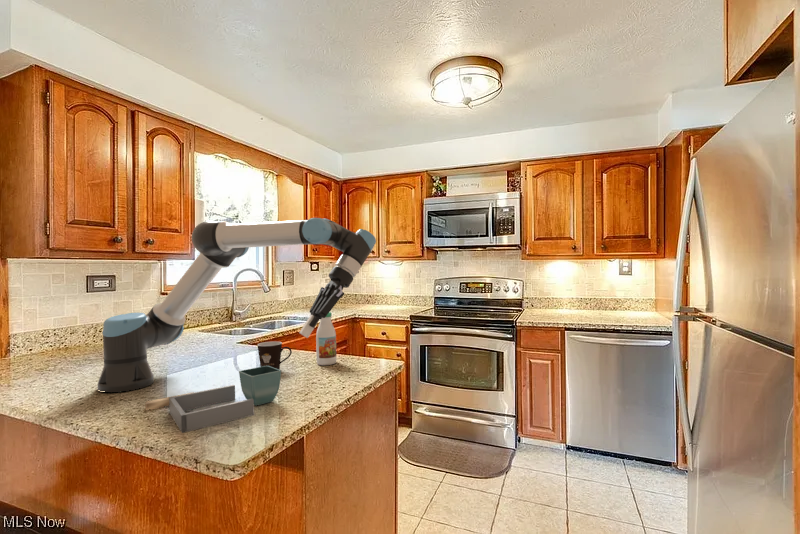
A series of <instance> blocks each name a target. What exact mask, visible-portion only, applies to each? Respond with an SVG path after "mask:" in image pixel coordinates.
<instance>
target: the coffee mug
mask: <svg viewBox="0 0 800 534" xmlns="http://www.w3.org/2000/svg"><path fill="white" fill-rule="evenodd" d="M282 345H283V342H281V341H265V342H260V343H258V344H257V350H258V351H257V353H258V358H259V365H260V366H259V367H263V366H270V367H273V368H276V369H279V370H281V367H280V366H281V364H282V363H283V362H285V361H286V360H288V359H289V358H290V356H291V355H292V353H293V351H292V349H291V348H290V347H289V346H283V347H282ZM285 349H288V350H289V354H288V356H286V357H285V358H284V359H282V360H281V357H282V352H283V351H284V350H285Z"/></svg>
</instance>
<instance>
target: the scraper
mask: <svg viewBox="0 0 800 534" xmlns="http://www.w3.org/2000/svg"><path fill="white" fill-rule="evenodd" d="M190 393H195V392H194V391H193V392H187V393H182V394H179V395H178V394H177V395H176V396H180V395H185V394H190ZM174 396H175V395H173V396H171V395H170V396H168V397H163V398H162V397H161V398H157V399H153V400H152V399H150V400H148V401H145V403H144V404H145V405H144V406H145V410H146V411H150V410H149V409H151V410H154V409H155V408H156V409H160V408H159V407H161V408H165V407H164V406H166V407H169V397H174ZM156 409H155V410H156Z"/></svg>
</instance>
